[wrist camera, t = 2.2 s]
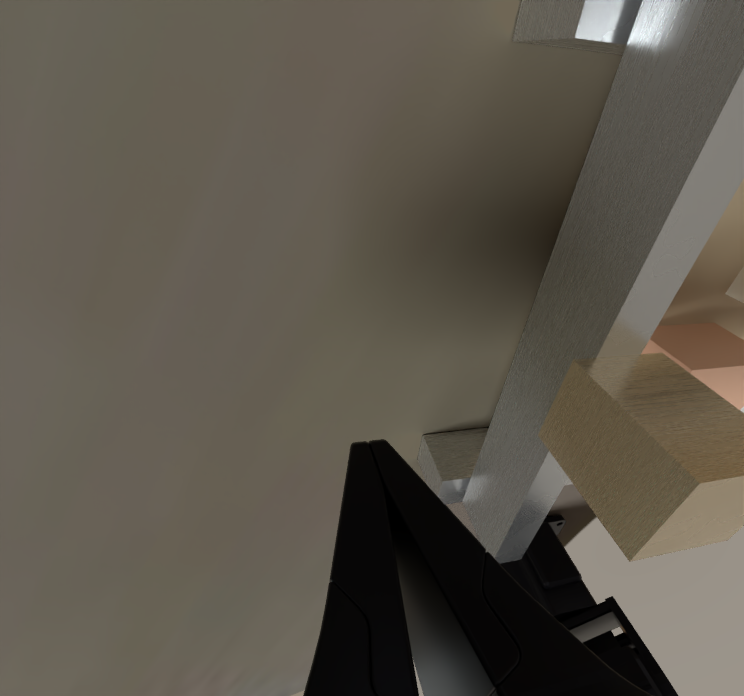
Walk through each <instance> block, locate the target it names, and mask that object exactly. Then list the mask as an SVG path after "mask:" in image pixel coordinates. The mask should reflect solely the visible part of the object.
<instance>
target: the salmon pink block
mask: <svg viewBox="0 0 744 696" xmlns="http://www.w3.org/2000/svg"><path fill="white" fill-rule="evenodd" d="M650 353H663V354H665V355H666V356H667V357H669V358H670V359H672V360H673V361H674V362H676V363H677V364H678V365H680V366H681V367H682V368H684V369H685V370H686V371H688V372H689V373H690V374H692V375H693V376H694V377H696V378H697V379H698V380H700V381H701V382H702V383H704V384H705V385H706V386H708V387H709V388H711V389H712V390H713V391H715V392H716V393H717V394H719V395H720V396H721V397H723V398H724V399H725V400H727V401H728V402H729V403H731V404H732V405H733V406H735V407H736V408H737V409H739V410H741V409H742V408H743V406H744V340H743V339H741V338H739V337H738V336H736V335H734V334H733V333H731V332H729V331H728V330H726V329H724V328H723V327H721V326H719V325H717V324H716V323H699V324H682V325H665V326H657V328H656V329H655V331H654V333H653V334H652V336H651V338H650V340H649V341H648V343H647V345H646V346H645V348H644V350H643V352H642V353H641V354H650Z"/></svg>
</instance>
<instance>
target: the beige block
mask: <svg viewBox="0 0 744 696" xmlns="http://www.w3.org/2000/svg"><path fill="white" fill-rule="evenodd" d="M725 294H726V295H728V296H730V297H732V298H734V299H736V300H738V301H740V302H742V303H744V266H743V268H742V269H741V271H740V272H739V274H738V275H737V277H736V278H735V280H734V281H733V283H732V284H731V286H730V287H729V289H728V290H727V292H726V293H725Z"/></svg>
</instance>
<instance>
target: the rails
mask: <svg viewBox="0 0 744 696" xmlns="http://www.w3.org/2000/svg"><path fill="white" fill-rule="evenodd" d="M642 1H643V0H521V4H520V9H519V13H518V18H517V22H516V26H515V31H514V35H513V40H512V41H515V42H523V43H531V44H538V45H546V46H554V47H562V48H570V49H578V50H586V51H594V52H602V53H610V54H618V55H623V53H624V51H625V48H626V45H627V42H628V40H629V37H630V34H631V31H632V28H633V26H634V23H635V20H636V17H637V15H638V12H639V9H640V6H641V3H642ZM741 412H742V411H741ZM488 429H489V427H488V428H480V429H471V430H463V431H454V432H445V433H437V434H428V435H423V437H422V441H421V445H420V450H419V454H418V459H417V460H418V462H419V465H420V467H421V470H422V473H423V475H424V478H425V480H426V483H427V485H428V486H429V488H430V489H431V490H432V491H433V492H434V493H435V494H436V495H437V496H438V497H439V498H440V500H441V501H442V502H443V503H444V504H451V503H457V502H462V501H463V498H464V496H465V493H466V490H467V487H468V485H469V482H470V479H471V476H472V473H473V471H474V468H475V465H476V462H477V459H478V457H479V454H480V451H481V448H482V446H483V443H484V440H485V437H486V434H487V432H488ZM570 484H573V483H572V482H571V480H570V479H569V478H568V480H567V482H566V483H565V485H570Z"/></svg>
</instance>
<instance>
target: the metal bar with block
mask: <svg viewBox="0 0 744 696" xmlns="http://www.w3.org/2000/svg"><path fill="white" fill-rule="evenodd" d="M743 179H744V0H643V1H642V3H641V6H640V9H639V12H638V15H637V17H636V20H635V23H634V26H633V28H632V31H631V34H630V37H629V40H628V42H627V45H626V48H625V51H624V53H623V56H622V59H621V62H620V65H619V67H618V70H617V73H616V76H615V79H614V81H613V84H612V87H611V90H610V92H609V95H608V98H607V101H606V104H605V106H604V109H603V112H602V115H601V117H600V120H599V123H598V126H597V129H596V131H595V134H594V137H593V140H592V142H591V145H590V148H589V151H588V154H587V156H586V159H585V162H584V165H583V168H582V170H581V173H580V176H579V179H578V181H577V184H576V187H575V190H574V193H573V195H572V198H571V201H570V204H569V206H568V209H567V212H566V215H565V218H564V220H563V223H562V226H561V229H560V231H559V234H558V237H557V240H556V243H555V245H554V248H553V251H552V254H551V256H550V259H549V262H548V265H547V268H546V270H545V273H544V276H543V279H542V282H541V284H540V287H539V290H538V293H537V295H536V298H535V301H534V304H533V307H532V309H531V312H530V315H529V318H528V320H527V323H526V326H525V329H524V332H523V334H522V337H521V340H520V343H519V345H518V348H517V351H516V354H515V357H514V359H513V362H512V365H511V368H510V371H509V373H508V376H507V379H506V382H505V384H504V387H503V390H502V393H501V396H500V398H499V401H498V404H497V407H496V409H495V412H494V415H493V418H492V421H491V423H490V426H489V429H488V432H487V434H486V437H485V440H484V443H483V446H482V448H481V451H480V454H479V457H478V459H477V462H476V465H475V468H474V471H473V473H472V476H471V479H470V482H469V485H468V487H467V490H466V493H465V496H464V498H463V501H462V502H463V504H464V507H465V509H466V511H467V513H468V516H469V518H470V520H471V522H472V524H473V527H474V529H475V531H476V533H477V536H478V538H479V540H480V542H481V544H482V545H483V546H484V547H485V549H486V552H489V553H490V554H491V555H492V556H493V557H494V558H495V559H496V560H497V562H498V563H499V564H501V563H506V562H510V561H515V560H520V559H522V557H523V555H524V553H525V552H526V550H527V548H528V547H529V545H530V543H531V541H532V540H533V538H534V536H535V535H536V533H537V531H538V529H539V528H540V526H541V524H542V523H543V521H544V519H545V517H546V516H547V514H548V512H549V511H550V509H551V507H552V506H553V504H554V502H555V500H556V499H557V497H558V495H559V494H560V492H561V490H562V488H563V487H564V485H565V483H566V482H567V480H568V478H569V479H570V480H571V482H572V483H573V484H574V486H575V487H576V488H577V490H578V491H579V493H580V494H581V495H582V497H583V498H584V499H585V501H586V502H587V504H588V505H589V506H590V508H591V509H592V510H593V512H594V513H595V515H596V516H597V517H598V519H599V520H600V521H601V523H602V524H603V526H604V527H605V528H606V530H607V531H608V532H609V534H610V535H611V537H612V538H613V539H614V541H615V542H616V544H617V545H618V546H619V548H620V549H621V550H622V552H623V553H624V555H625V556H626V557H627V558H628V560H629V561H635V560H640V559H644V558H649V557H653V556H658V555H663V554H667V553H671V552H676V551H681V550H685V549H690V548H695V547H699V546H704V545H708V544H712V543H717V542H722V541H727V540H728V539H729V538H730V537H732V535H734V534H735V533H736V532H737V531H738V530H739V529H740V528H742V527H743V526H744V413H743V412H741V411H740V410H739V409H737V408H736V407H735V406H733V405H732V404H731V403H729V402H728V401H727V400H725V399H724V398H723V397H721V396H720V395H719V394H717V393H716V392H715V391H713V390H712V389H711V388H709V387H708V386H706V385H705V384H704V383H702V382H701V381H700V380H698V379H697V378H696V377H694V376H693V375H692V374H690V373H689V372H688V371H686V370H685V369H684V368H682V367H681V366H680V365H678V364H677V363H676V362H674V361H673V360H672V359H670V358H669V357H667V356H666V355H665V354H663V353H650V354H641V353H642V352H643V350H644V348H645V346H646V345H647V343H648V341H649V340H650V338H651V336H652V334H653V333H654V331H655V329H656V328H657V326H658V324H659V322H660V321H661V319H662V317H663V316H664V314H665V312H666V310H667V309H668V307H669V305H670V304H671V302H672V300H673V299H674V297H675V295H676V293H677V292H678V290H679V288H680V287H681V285H682V283H683V281H684V280H685V278H686V276H687V275H688V273H689V271H690V269H691V268H692V266H693V264H694V263H695V261H696V259H697V257H698V256H699V254H700V252H701V251H702V249H703V247H704V245H705V244H706V242H707V240H708V239H709V237H710V235H711V234H712V232H713V230H714V228H715V227H716V225H717V223H718V222H719V220H720V218H721V216H722V215H723V213H724V211H725V210H726V208H727V206H728V204H729V203H730V201H731V199H732V198H733V196H734V194H735V192H736V191H737V189H738V187H739V186H740V184H741V182H742V180H743Z"/></svg>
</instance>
